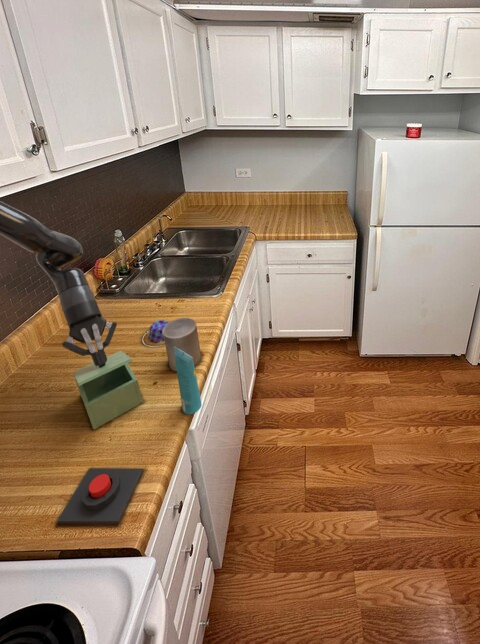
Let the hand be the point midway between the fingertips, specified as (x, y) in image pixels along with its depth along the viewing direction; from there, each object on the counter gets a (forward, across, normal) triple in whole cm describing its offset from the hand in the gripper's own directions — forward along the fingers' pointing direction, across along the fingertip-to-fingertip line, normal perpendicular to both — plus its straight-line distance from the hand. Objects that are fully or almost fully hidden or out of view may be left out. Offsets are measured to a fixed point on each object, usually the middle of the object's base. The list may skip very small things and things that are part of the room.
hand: (102, 365), depth 86 cm
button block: (+27, -8, -7) cm, 29 cm away
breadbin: (+9, 0, +11) cm, 14 cm away
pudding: (-4, +20, +24) cm, 31 cm away
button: (+25, -8, -10) cm, 28 cm away
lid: (0, 0, +2) cm, 2 cm away
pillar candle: (+9, +21, +11) cm, 25 cm away
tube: (+21, +15, -1) cm, 26 cm away
